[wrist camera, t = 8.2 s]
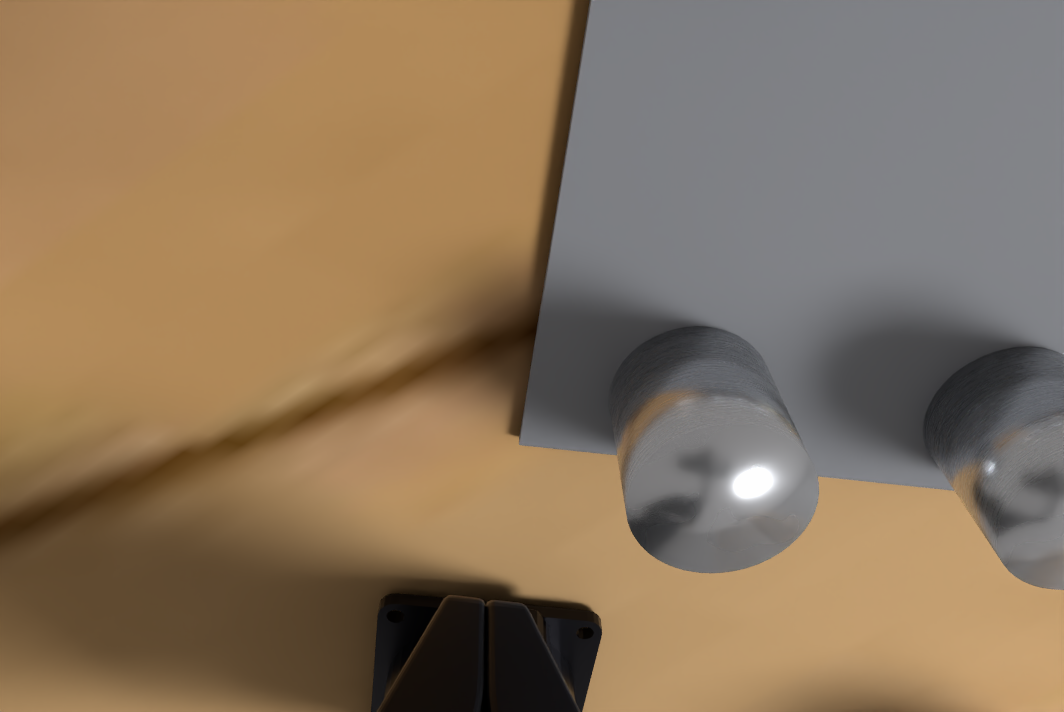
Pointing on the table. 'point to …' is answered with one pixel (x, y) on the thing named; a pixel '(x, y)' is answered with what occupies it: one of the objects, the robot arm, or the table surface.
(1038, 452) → the spacers
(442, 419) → the table surface
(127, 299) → the table surface
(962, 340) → the mat
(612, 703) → the table surface
